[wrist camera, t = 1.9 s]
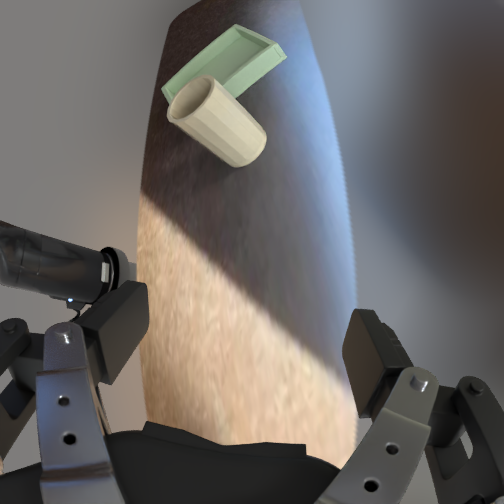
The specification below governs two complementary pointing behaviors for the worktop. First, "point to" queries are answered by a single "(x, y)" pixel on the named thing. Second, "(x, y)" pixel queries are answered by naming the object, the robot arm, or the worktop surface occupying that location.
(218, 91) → the cup
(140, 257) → the worktop surface
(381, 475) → the robot arm
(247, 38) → the tray
